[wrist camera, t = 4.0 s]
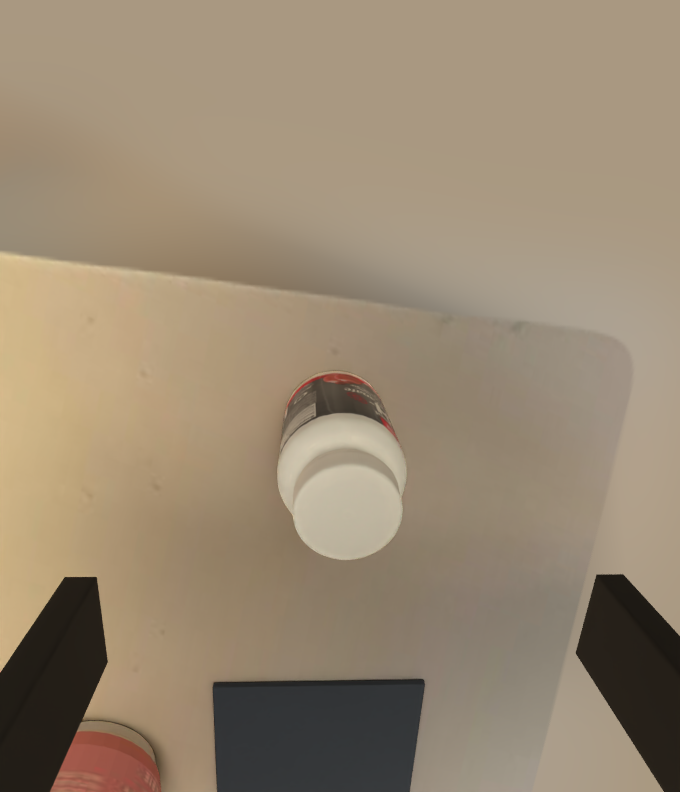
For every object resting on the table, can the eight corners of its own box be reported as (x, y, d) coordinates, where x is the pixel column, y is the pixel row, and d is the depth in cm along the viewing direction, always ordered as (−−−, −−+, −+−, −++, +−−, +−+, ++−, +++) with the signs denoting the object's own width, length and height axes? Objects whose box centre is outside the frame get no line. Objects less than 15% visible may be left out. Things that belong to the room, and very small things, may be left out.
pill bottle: (402, 399, 27) (452, 492, 18) (350, 476, 28) (370, 599, 19) (317, 349, 26) (322, 419, 16) (265, 431, 27) (244, 540, 18)
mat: (423, 679, 34) (425, 684, 33) (404, 817, 38) (405, 823, 38) (213, 682, 32) (212, 687, 32) (219, 823, 37) (218, 830, 37)
